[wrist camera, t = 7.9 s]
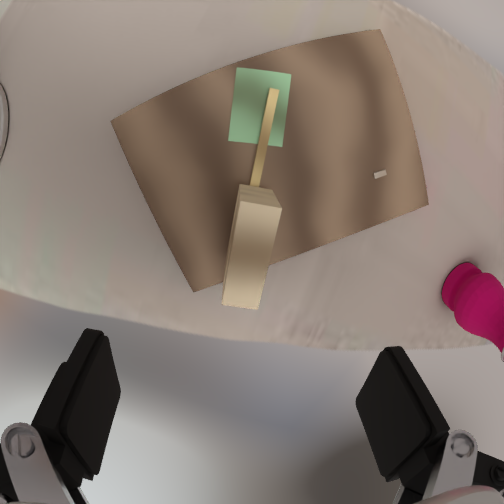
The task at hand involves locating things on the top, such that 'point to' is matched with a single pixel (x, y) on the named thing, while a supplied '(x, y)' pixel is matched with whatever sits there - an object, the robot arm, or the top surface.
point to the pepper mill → (476, 302)
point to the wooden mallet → (252, 228)
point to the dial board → (278, 149)
